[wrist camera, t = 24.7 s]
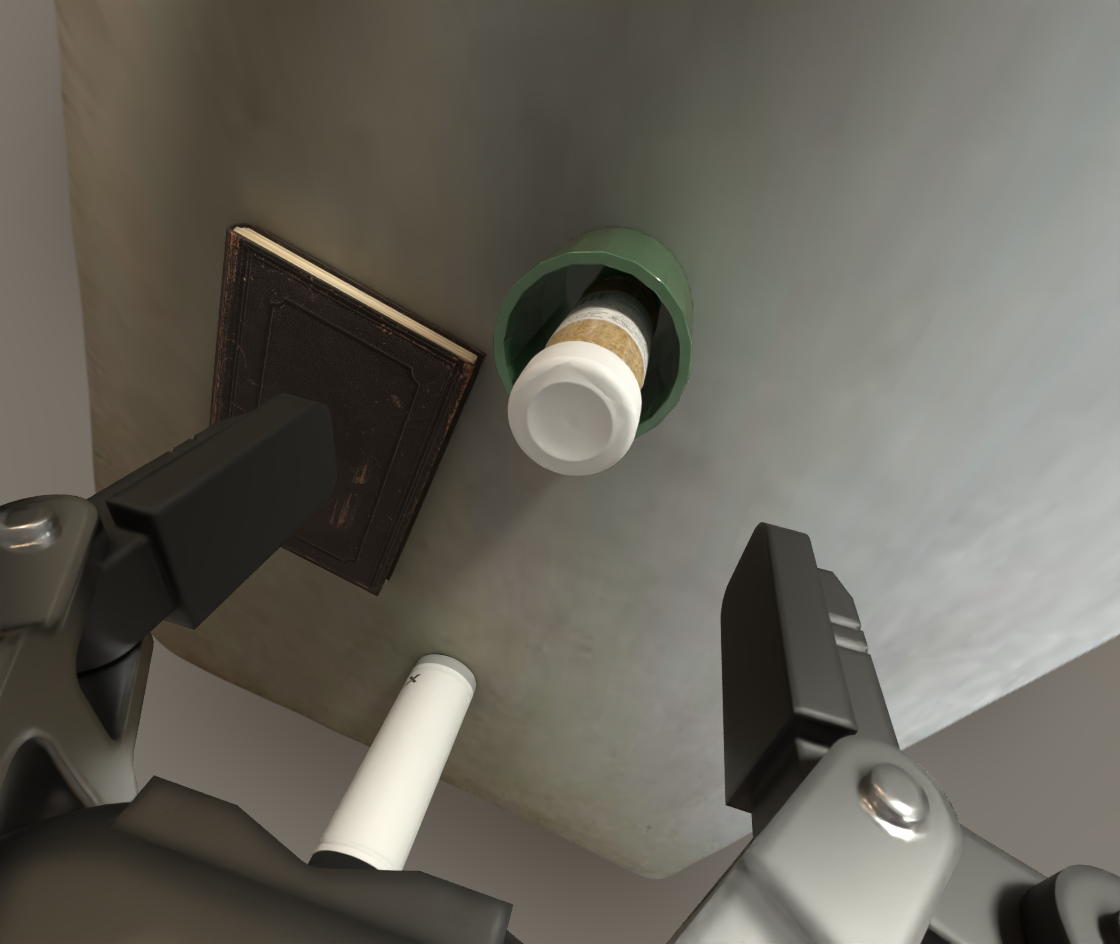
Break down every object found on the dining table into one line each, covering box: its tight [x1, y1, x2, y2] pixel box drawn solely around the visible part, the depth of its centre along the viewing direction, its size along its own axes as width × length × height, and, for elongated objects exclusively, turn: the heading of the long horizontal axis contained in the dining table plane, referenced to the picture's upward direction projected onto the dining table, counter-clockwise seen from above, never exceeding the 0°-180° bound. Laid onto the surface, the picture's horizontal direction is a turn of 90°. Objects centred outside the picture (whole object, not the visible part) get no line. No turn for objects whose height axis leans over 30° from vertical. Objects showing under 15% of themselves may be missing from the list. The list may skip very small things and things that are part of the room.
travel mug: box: [308, 654, 476, 870], centre depth 43 cm, size 6×7×20 cm
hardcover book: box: [209, 223, 486, 596], centre depth 37 cm, size 16×23×2 cm
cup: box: [493, 227, 693, 439], centre depth 26 cm, size 9×9×8 cm
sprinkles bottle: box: [508, 275, 658, 476], centre depth 23 cm, size 5×5×14 cm
